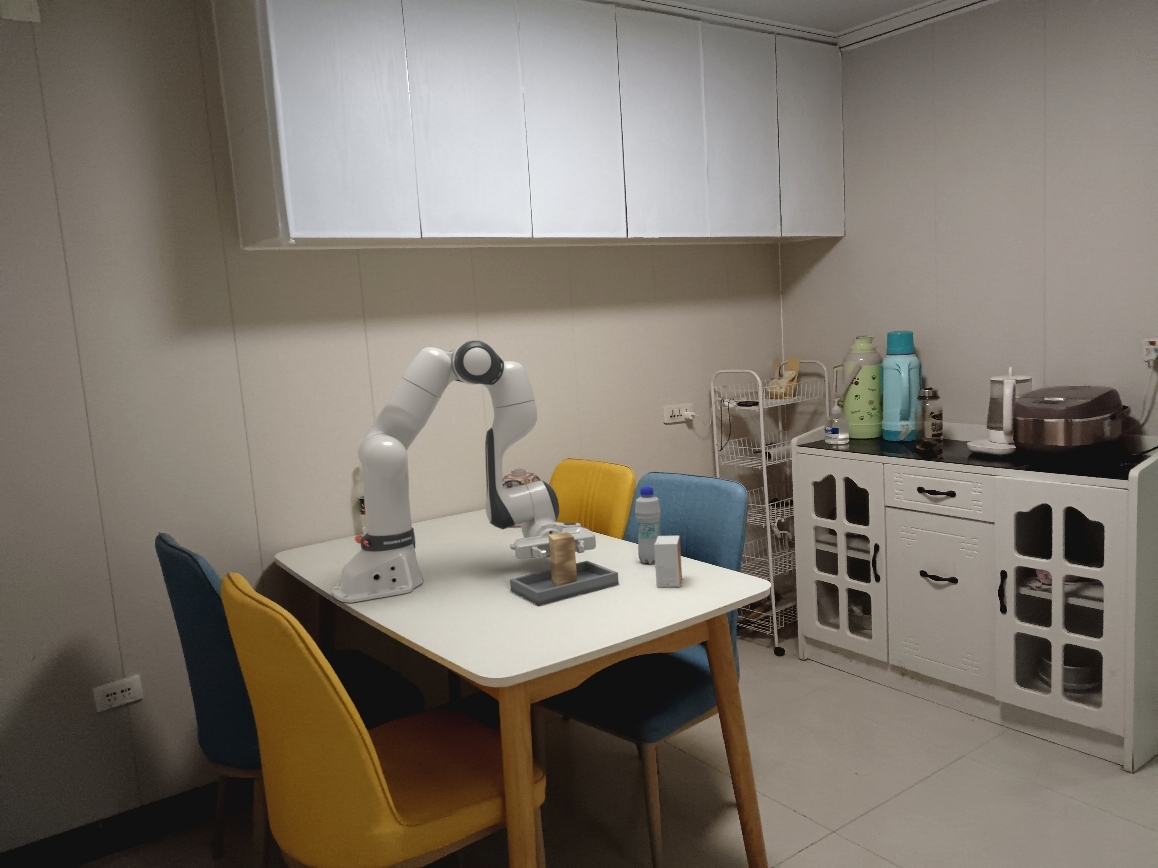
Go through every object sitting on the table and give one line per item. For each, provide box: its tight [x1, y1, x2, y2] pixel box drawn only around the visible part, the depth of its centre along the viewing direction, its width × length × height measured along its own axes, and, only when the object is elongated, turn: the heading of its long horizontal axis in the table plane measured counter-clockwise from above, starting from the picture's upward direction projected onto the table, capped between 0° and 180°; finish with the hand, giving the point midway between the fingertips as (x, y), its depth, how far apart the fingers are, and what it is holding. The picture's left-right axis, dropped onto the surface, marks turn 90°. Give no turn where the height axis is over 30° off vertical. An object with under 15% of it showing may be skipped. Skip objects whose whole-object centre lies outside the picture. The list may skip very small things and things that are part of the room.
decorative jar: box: [502, 467, 542, 528], centre depth 264 cm, size 12×12×18 cm
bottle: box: [634, 486, 662, 565], centre depth 211 cm, size 7×7×20 cm
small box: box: [654, 535, 683, 588], centre depth 194 cm, size 8×6×10 cm
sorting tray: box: [509, 560, 619, 607], centre depth 195 cm, size 22×14×3 cm, turn 122°
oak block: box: [548, 532, 577, 587], centre depth 194 cm, size 5×5×12 cm
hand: (562, 552), depth 194 cm, fingers open, 8 cm apart
